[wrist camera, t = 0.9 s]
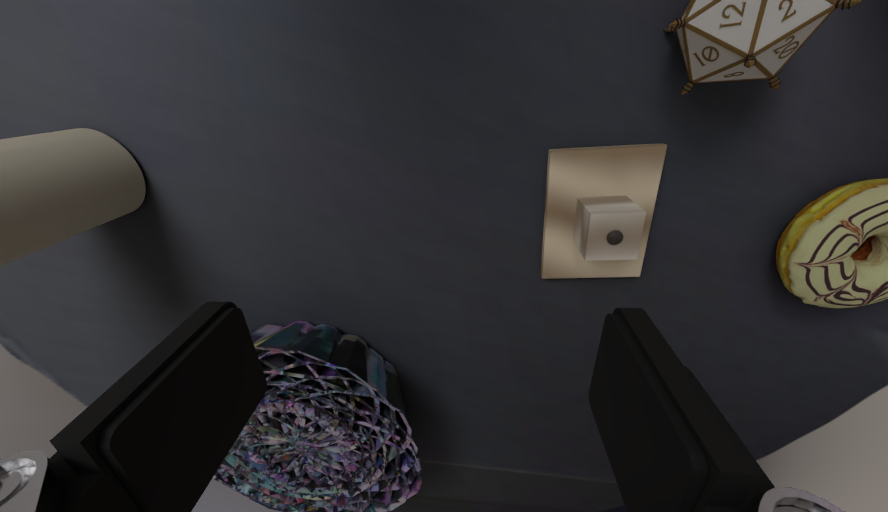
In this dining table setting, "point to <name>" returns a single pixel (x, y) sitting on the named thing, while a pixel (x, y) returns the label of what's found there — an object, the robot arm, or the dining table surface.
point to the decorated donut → (838, 247)
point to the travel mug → (62, 188)
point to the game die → (746, 36)
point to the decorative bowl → (324, 427)
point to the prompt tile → (593, 182)
